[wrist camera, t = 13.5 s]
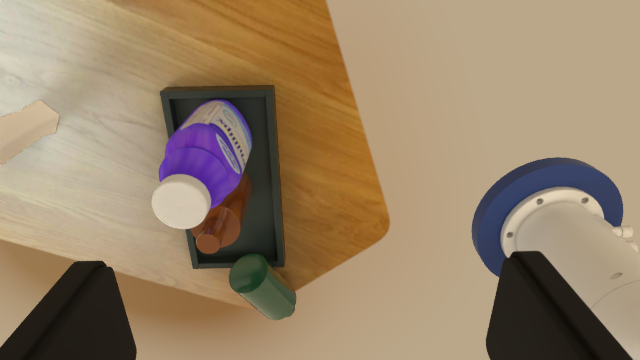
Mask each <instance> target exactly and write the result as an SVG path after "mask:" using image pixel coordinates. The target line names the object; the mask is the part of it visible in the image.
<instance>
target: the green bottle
mask: <svg viewBox="0 0 640 360" xmlns="http://www.w3.org/2000/svg"><path fill="white" fill-rule="evenodd" d="M229 283H230V286H231V288H232V289H233V290H234V291H235V292H236V293H238V294H239V295H240V296H241V297H243V298H244V299H245V300H246V301H247V302H249V303H250V304H251V305H252V306H254V307H255V308H256V309H257V310H259V311H260V312H261V313H262V314H263V315H265V316H266V317H267V318H269V319H271V320H280V319H283V318H285V317H289V316H291V315H292V314H293V312H294V309H295V307H294V306H295V304H296V293H295V291H294V289H293V288H292V287H291V286H290V285H289V283H288V282H287V281H286V280H285V279H284V278H283V277H282V276H281V275H280V274H279V273H278V272H277V271H276V270H275V268H274V267H273V266H272V265H271V264H270V263H269V262H268V261H267V260H266V259H265V258H264V257H263V256H262V255H260V254H256V253H252V254H247V255H245V256H243V257H241V258H240V259H239V260H238V261H237V262H236V263H235V264H234V265H233V267H232V269H231V271H230V275H229Z"/></svg>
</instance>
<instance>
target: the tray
mask: <svg viewBox="0 0 640 360" xmlns="http://www.w3.org/2000/svg"><path fill="white" fill-rule="evenodd" d="M160 95H161V101H162V106H163V111H164V117H165V122H166V127H167V133H168V138H169V139H170V138H171V136H172V135H173V134H174V133H175V132H176V130H177V129H178V128H179V127H180V126H181V125H182V124H183V122H184V121H185V120H186V119H187V118H188V117H189V116H190V114H191V113H192V112H193V111H194V110H195V109H196V108H198V107H199V106H200V105H201V104H204V103H206V102H208V101H212V100H216V99H222V100H227V101H229V102H230V103H232V104H233V105H234V106H235V107H236V108H237V109H238V110H239V112H240V113H241V114H242V116H243V117H244V119H245V121H246V123H247V125H248V127H249V129H250V132H251V136H252V148H251V151H250V154H249V157H248V159H247V162H246V165H245V168H244V172H245V173H246V174H247V175H248V176H249V178H250V179H251V182H252V186H253V189H252V194H251V197H250V200H249V204H248V207H247V211H246V214H245V217H244V221H243V224H242V227H241V231H240V234H239V236H238V238H237V239H236V240H235V241H234V242H233V243H232V244H230V245H228V246H225V247H220V248H219V250H218V251H217V252H215V253H213V254H206V253H203V252H201V251H200V250H199V249H198V248H197V246H196V240H197V239H196V238H195V237H194V236H193V234H192V232H191V230H190V229H186V234H187V240H188V245H189V250H190V256H191V261H192V266H193V269H199V268H200V269H205V268H232V267H233V265H234V264H235V263H236V262H237V261H238V260H239V259H240V258H241V257H243V256H245V255H247V254H252V253H256V254H260V255H262V256H263V257H264V258H265V259H266V260H267V261H268V262H269V263H270V264H271V265H272V266H273V267H284V265H285V244H284V229H283V213H282V198H281V182H280V166H279V151H278V135H277V120H276V104H275V88H274V85H255V86H202V87H166V88H165V89H163V90H162V91H160Z"/></svg>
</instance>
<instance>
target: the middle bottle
mask: <svg viewBox="0 0 640 360" xmlns="http://www.w3.org/2000/svg"><path fill="white" fill-rule="evenodd" d="M252 189H253V186H252V182H251V179H250V178H249V176H248V175H247V174H246V173H245V172H244V171H243V174H242V177H241V180H240V182H239V184H238V186H237V187H236V188H235V189H234V190H233V191H232V192H231V193H230V194H228V195H226V197H225V198H224V200H223V201H222V202H221V203H220V204H219V205H218V206H216V207H214V208H212V209H209V211H208V213H207V215H206V217H205V219H204V220H203V221H202V222H201V223H200V224H199V225H197V226H196V227H193V228H190V230H191V232H192V234H193V236H194V237H195V238H196V239H197V240H196V246H197V248H198V249H199V250H200V251H201V252H203V253H206V254H213V253H215V252H217V251H218V250H219V248H220V247H225V246H228V245H230V244H232V243H233V242H234V241H235V240H236V239H237V238H238V236H239V234H240V231H241V227H242V224H243V221H244V217H245V214H246V211H247V207H248V204H249V200H250V197H251V194H252Z"/></svg>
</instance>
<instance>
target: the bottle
mask: <svg viewBox="0 0 640 360" xmlns="http://www.w3.org/2000/svg"><path fill="white" fill-rule="evenodd" d="M251 148H252V136H251V132H250V129H249V127H248V125H247V123H246V121H245V119H244V117H243V116H242V114H241V113H240V112H239V110H238V109H237V108H236V107H235V106H234V105H233V104H232V103H230V102H229V101H227V100H222V99H216V100H212V101H208V102H206V103H204V104H201V105H200V106H199V107H198V108H196V109H195V110H194V111H193V112H192V113H191V114H190V116H189V117H188V118H187V119H186V120H185V121H184V122H183V124H182V125H181V126H180V127H179V128H178V129H177V130H176V132H175V133H174V134H173V135H172V136H171V138H170V139H169V141H168V143H167V145H166V149H165V159H164V160H163V162H162V164H161V166H160V169H159V179H160V184H159V185H158V187H157V189H156V190H155V192H154V193H153V196H152V208H153V211H154V213H155V214H156V216H157V217H158V218H159V219H160V220H161V221H162V222H163V223H165V224H166V225H168V226H170V227H173V228H177V229H190V228H193V227H196V226H197V225H199V224H200V223H201V222H202V221H203V220H204V219H205V217H206V215H207V213H208V211H209V209H212V208H214V207H216V206H218V205H219V204H220V203H221V202H222V201H223V200H224V198H225V197H226V195H228V194H230V193H231V192H232V191H233V190H234V189H235V188H236V187H237V186H238V184H239V182H240V180H241V177H242V174H243V171H244V168H245V165H246V162H247V159H248V157H249V154H250V151H251Z"/></svg>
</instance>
